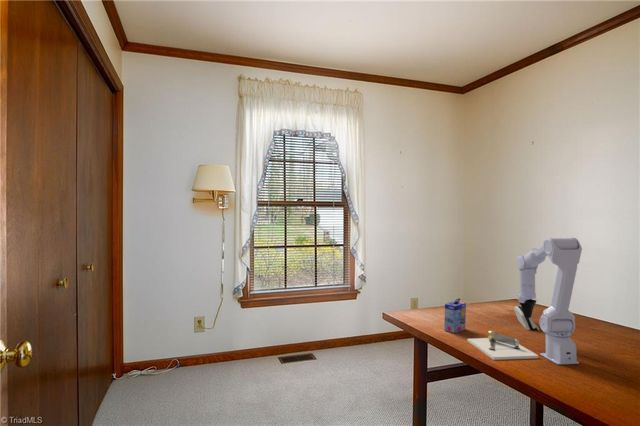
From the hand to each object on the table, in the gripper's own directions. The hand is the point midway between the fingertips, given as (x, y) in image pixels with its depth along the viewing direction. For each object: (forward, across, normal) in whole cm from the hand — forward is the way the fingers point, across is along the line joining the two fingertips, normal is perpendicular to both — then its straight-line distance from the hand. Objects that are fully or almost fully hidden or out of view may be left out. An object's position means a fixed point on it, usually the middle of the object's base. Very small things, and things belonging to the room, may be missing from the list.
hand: (527, 317), depth 154 cm
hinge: (+10, -22, -8) cm, 26 cm away
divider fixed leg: (+8, +20, -6) cm, 23 cm away
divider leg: (+8, +16, -4) cm, 18 cm away
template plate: (+9, +19, -4) cm, 21 cm away
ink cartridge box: (+10, +9, -28) cm, 30 cm away
